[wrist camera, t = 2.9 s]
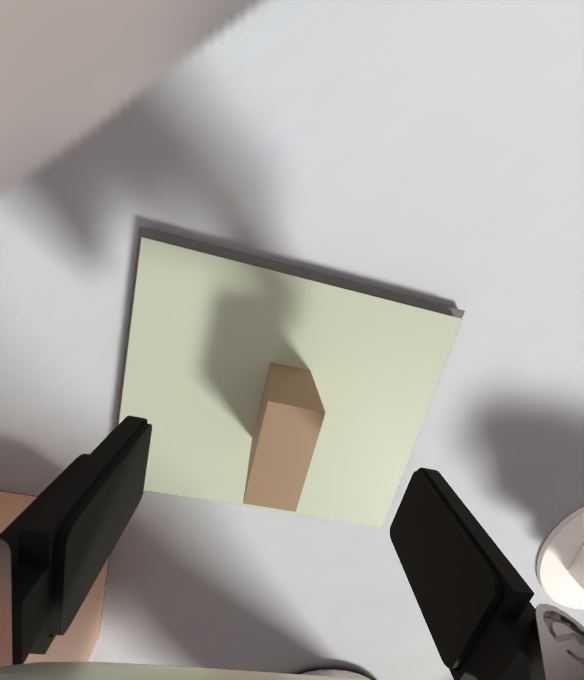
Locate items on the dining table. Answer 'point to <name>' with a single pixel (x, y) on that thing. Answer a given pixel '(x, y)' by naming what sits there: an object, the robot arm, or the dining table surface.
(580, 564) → the panda figurine
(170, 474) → the lid
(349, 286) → the mat
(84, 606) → the wooden cubby box
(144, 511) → the dining table surface
